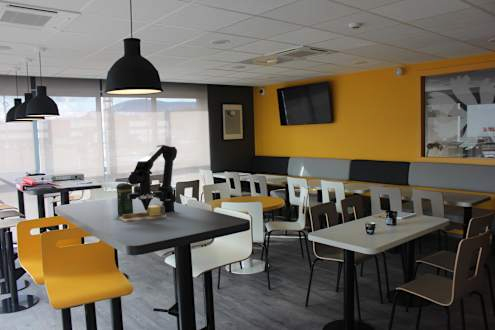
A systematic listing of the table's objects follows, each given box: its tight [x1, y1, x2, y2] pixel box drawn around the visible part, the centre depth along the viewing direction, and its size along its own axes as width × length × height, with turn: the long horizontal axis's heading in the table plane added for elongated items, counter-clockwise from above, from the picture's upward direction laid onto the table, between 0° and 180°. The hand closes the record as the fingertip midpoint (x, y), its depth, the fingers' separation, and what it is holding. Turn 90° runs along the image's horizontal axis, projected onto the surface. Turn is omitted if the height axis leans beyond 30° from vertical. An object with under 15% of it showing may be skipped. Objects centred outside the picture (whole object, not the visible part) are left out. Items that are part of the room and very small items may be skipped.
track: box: [119, 203, 167, 223], centre depth 221 cm, size 23×12×6 cm, turn 119°
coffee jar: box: [116, 182, 134, 216], centre depth 235 cm, size 10×8×19 cm
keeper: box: [146, 204, 161, 216], centre depth 224 cm, size 6×8×4 cm
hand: (146, 210), depth 222 cm, fingers closed
